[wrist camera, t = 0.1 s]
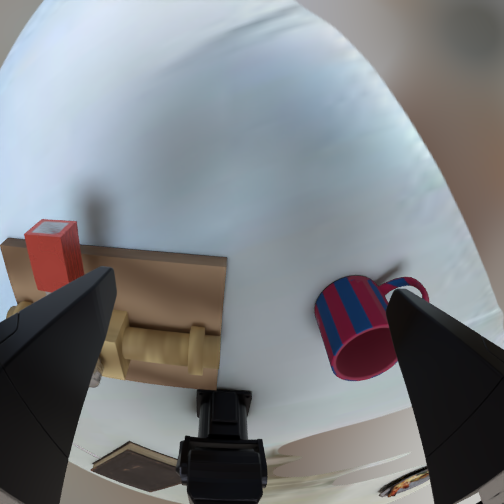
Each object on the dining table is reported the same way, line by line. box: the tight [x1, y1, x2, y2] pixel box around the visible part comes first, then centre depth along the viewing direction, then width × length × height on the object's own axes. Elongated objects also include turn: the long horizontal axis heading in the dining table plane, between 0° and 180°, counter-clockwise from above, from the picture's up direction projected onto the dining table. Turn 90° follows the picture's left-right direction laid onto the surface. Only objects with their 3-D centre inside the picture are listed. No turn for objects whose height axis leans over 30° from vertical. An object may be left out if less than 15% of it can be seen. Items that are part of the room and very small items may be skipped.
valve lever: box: [24, 219, 104, 388], centre depth 19 cm, size 14×3×2 cm, turn 173°
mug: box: [315, 276, 429, 381], centre depth 25 cm, size 7×10×7 cm
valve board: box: [0, 238, 227, 390], centre depth 25 cm, size 16×22×6 cm
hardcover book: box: [91, 441, 182, 492], centre depth 47 cm, size 16×23×2 cm
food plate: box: [379, 468, 430, 497], centre depth 67 cm, size 25×23×4 cm
